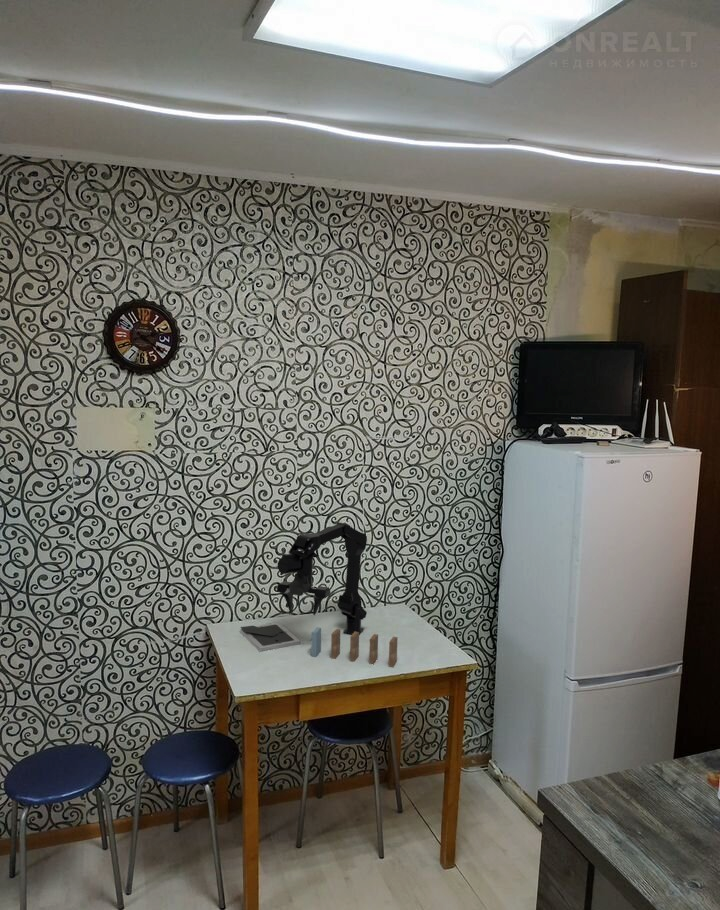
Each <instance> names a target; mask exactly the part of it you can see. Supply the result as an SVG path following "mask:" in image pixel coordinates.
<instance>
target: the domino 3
mask: <svg viewBox="0 0 720 910" xmlns="http://www.w3.org/2000/svg"><path fill="white" fill-rule="evenodd" d="M349 643H350V646H349V647H350V649H349V651H350V652H349V662H356V660H357V659H358V658H359V656H360V655H359V653H360V649H359V648H360V635H359V632H354V633H353V634H350V641H349Z"/></svg>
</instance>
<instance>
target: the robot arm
mask: <svg viewBox="0 0 720 910" xmlns="http://www.w3.org/2000/svg"><path fill="white" fill-rule="evenodd" d="M340 537H341V538H342V539H343V540H344V548H345V550H346V553H347V563H346V574H345V576H346V577H345V590H344V592H343V593H342V594H340V595H339V596H338V604H337V605H338V607H339V609H338V610H340V611H341V615H342V616H345V617H346V618H345V619H346V621H345V622H346V624H345V625H346V627H345V629H344V630H343V632H342V633H343V634H348V635H352V634H353V633H354V632H359V636H360V635H361V634H360V633H362V632H363V631H364V630H365V629H364V628H363V627H362V621H363V620H364V619H365V618H367V611H366V609H364V608H363V607H362V598H361V596H360V593H359V583H360V573H361V559H362V555H363V553H364V552H365V550H366V547H367V543H368V537H367V534H366V533H364V532H361V531H359V530H357V529H355V528H354V527H352V526H351V525H350V524H348V523H344V522H337V523H336V524H334V525H332V526H330V527H327V528H325V529H322V530H320V531H316V532H309V533H301V534H299V535H297V537H296V539H295V540H294V542H293V543H292V545H291V547H290V548H289V551H288V553H282V554H281V558H279V560H278V562H277V569H278V572H279V573H280V574H282V575H287V574H292V573H295V574H294V578H293V580H291V581H285V580H283V581H281V582H279V583H278V584H277V585H276V592H277V593H279V595H280V596H281V595H282V597H283V598H284V599H285V601H286V606H287V608H288V611H289V612H292V610H293V605H294V604H293V602H294V596H298V597H302V596H303V595H304V593H307V594H314V597H313V601H314V603H313V609H312V610H313V611H312V614H313V616H316V615H317V612H318V610H319V608H320V605H321V603H322V601H323V600H324V599H326V598H328V597H329V596H331V588H330V587H329V586H323V585H321V586H318V587H317V588H315V587H313V586H314V583H313V576H314V574H315V573H314V572H313V567H314V558H318V557H319V555H318V554H317V553H316V551H317V550H319V549H320V548H321V546H322V545H324V544H326V543H328V542H331V541H333V540H336V539H338V538H340Z"/></svg>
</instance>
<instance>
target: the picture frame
mask: <svg viewBox="0 0 720 910" xmlns="http://www.w3.org/2000/svg"><path fill="white" fill-rule="evenodd" d="M240 634H241V635H242V636H243V637H244V638H245V639H247V641H248V642H249V643H251V644H252V646H253V647H255V648H256V649H257V650H258V652H259V653H263V652H268V650H269V651H273V649H274V650H277V649H283V648H284V649H285V648H288V647H295V646H299V645H301V640H300V639H298V637H297V636H295V635H294V634H293V633H292V632H290V630H288V629H287V628H286V627H284V626H283V625H282V624H281V623H280V622H275V623H269V624H268V623H267V624H262V625H246V626H240Z"/></svg>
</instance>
